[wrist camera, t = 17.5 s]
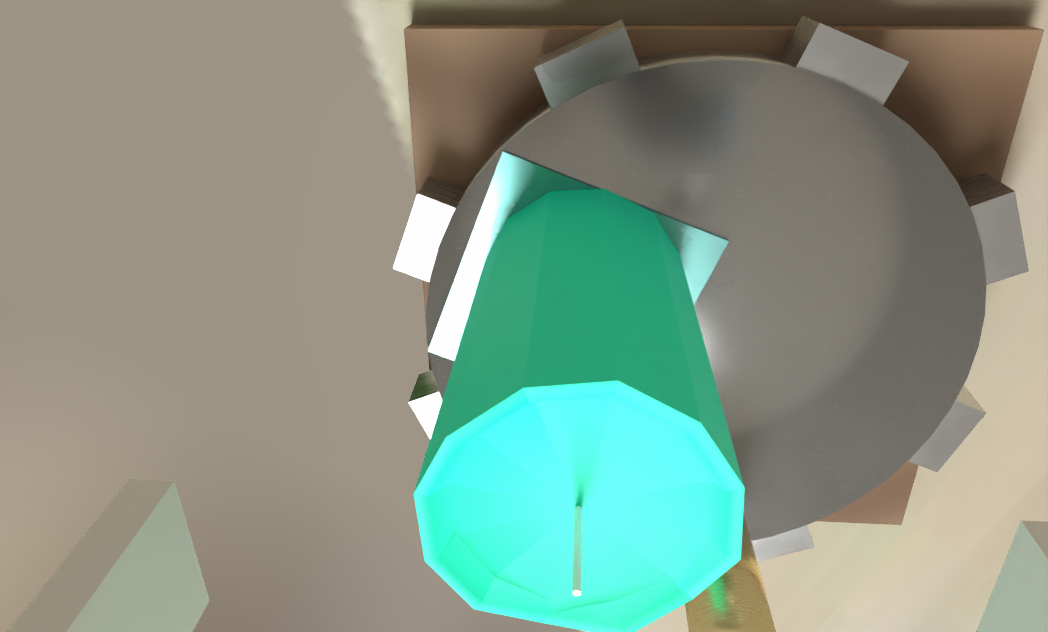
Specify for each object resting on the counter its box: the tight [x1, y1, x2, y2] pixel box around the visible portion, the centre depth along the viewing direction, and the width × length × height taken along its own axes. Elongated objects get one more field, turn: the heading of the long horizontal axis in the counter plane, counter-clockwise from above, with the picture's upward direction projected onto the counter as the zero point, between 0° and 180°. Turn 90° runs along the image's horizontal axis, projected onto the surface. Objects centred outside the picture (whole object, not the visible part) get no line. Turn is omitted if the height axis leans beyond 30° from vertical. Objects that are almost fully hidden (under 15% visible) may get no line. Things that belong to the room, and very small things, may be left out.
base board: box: [404, 25, 1044, 525], centre depth 26 cm, size 18×18×1 cm
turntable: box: [393, 15, 1029, 632], centre depth 22 cm, size 19×19×8 cm
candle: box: [414, 189, 745, 632], centre depth 18 cm, size 6×6×12 cm
